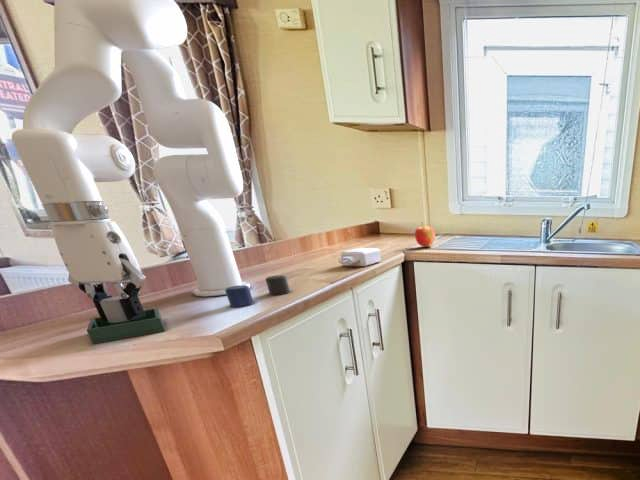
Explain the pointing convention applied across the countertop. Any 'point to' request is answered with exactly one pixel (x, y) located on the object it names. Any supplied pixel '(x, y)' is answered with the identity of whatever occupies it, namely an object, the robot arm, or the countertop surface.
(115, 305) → the grey cap
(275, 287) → the black cap
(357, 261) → the charger
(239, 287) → the navy cap
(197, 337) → the countertop surface
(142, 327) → the tray
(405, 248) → the countertop surface
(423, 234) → the apple
